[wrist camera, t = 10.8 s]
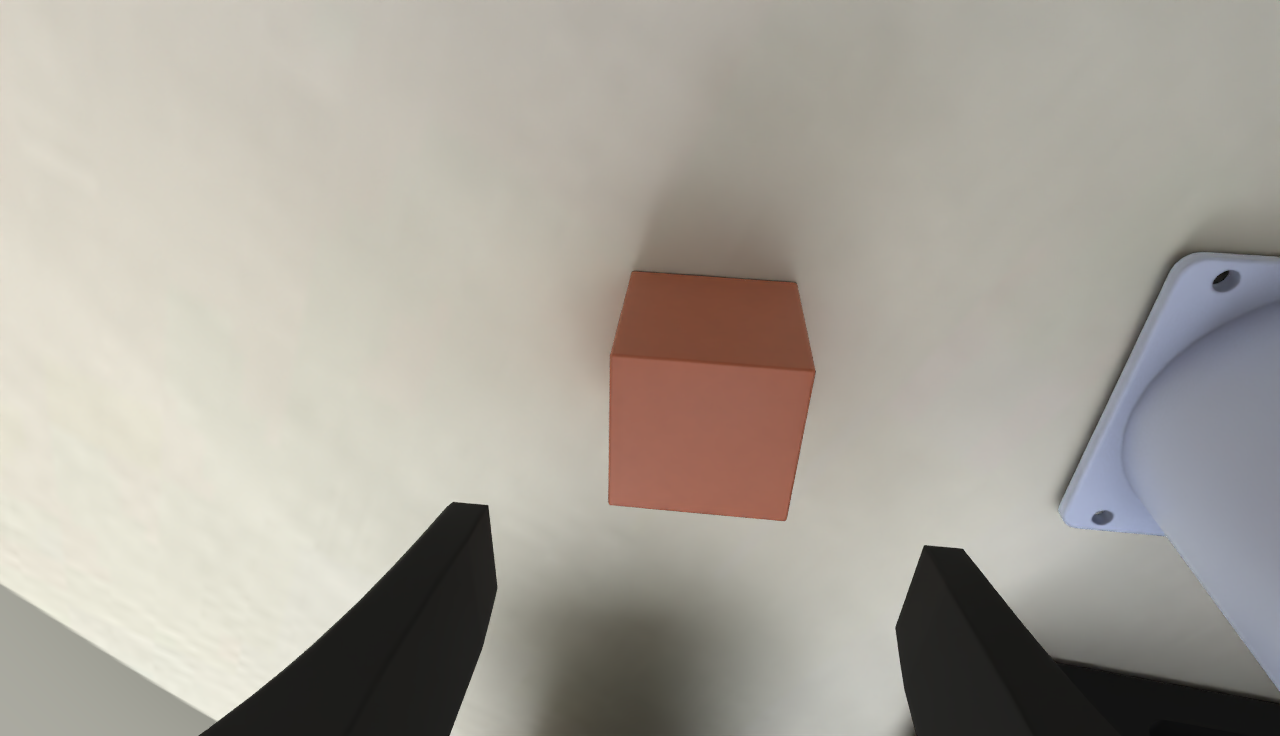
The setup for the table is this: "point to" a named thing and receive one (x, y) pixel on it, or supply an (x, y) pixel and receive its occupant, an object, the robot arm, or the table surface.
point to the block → (708, 395)
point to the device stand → (1171, 707)
